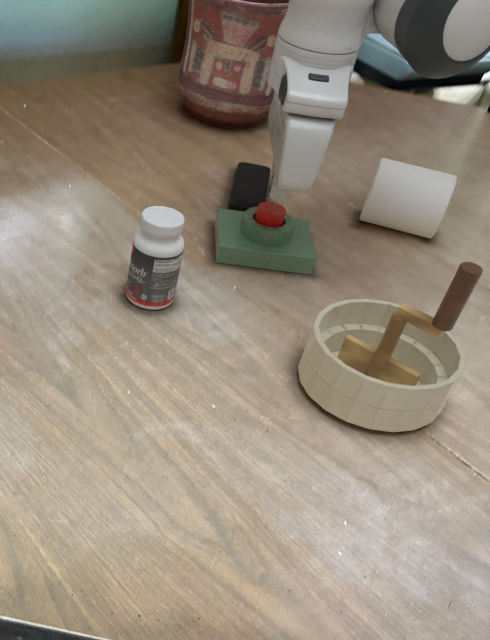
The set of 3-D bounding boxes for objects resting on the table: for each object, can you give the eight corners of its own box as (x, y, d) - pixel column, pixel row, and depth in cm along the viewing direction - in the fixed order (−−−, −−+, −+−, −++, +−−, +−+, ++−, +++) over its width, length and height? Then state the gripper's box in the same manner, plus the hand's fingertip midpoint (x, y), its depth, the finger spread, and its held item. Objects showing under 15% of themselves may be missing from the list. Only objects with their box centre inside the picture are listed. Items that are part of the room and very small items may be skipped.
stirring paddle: (332, 362, 82) (385, 232, 71) (342, 355, 83) (395, 225, 72) (408, 406, 79) (477, 276, 67) (418, 398, 80) (486, 268, 68)
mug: (428, 249, 104) (455, 190, 98) (355, 229, 105) (377, 170, 99) (435, 211, 111) (461, 155, 105) (367, 194, 113) (388, 137, 107)
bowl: (424, 355, 87) (447, 308, 83) (453, 445, 77) (481, 398, 73) (291, 337, 87) (307, 290, 83) (303, 425, 77) (322, 377, 73)
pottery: (159, 92, 132) (178, -35, 118) (255, 95, 135) (284, -29, 121) (186, 137, 121) (210, 2, 107) (290, 138, 124) (327, 7, 110)
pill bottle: (117, 287, 91) (128, 205, 83) (161, 281, 92) (175, 200, 85) (137, 314, 87) (150, 231, 80) (181, 308, 89) (198, 226, 82)
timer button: (281, 216, 98) (285, 203, 97) (283, 230, 96) (287, 217, 94) (253, 213, 98) (257, 199, 97) (255, 227, 96) (258, 213, 94)
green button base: (303, 235, 103) (312, 206, 100) (310, 274, 96) (320, 245, 93) (214, 223, 103) (221, 194, 100) (215, 262, 96) (222, 232, 93)
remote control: (235, 172, 115) (225, 214, 105) (238, 160, 114) (229, 201, 103) (268, 178, 115) (261, 221, 104) (271, 166, 113) (265, 208, 103)
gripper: (275, 35, 91) (246, 155, 101) (288, 101, 77) (253, 231, 88) (328, 42, 91) (293, 161, 101) (350, 109, 78) (307, 238, 88)
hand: (275, 194), depth 95 cm, fingers closed
